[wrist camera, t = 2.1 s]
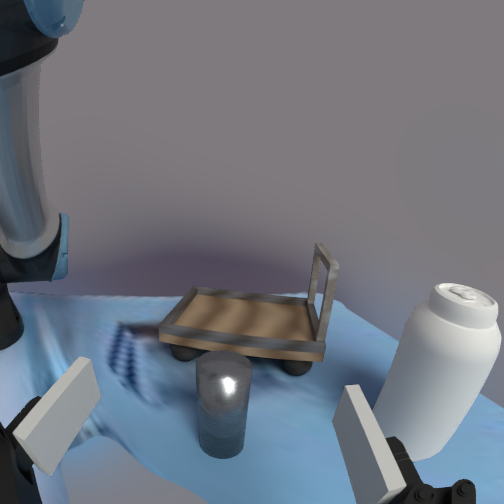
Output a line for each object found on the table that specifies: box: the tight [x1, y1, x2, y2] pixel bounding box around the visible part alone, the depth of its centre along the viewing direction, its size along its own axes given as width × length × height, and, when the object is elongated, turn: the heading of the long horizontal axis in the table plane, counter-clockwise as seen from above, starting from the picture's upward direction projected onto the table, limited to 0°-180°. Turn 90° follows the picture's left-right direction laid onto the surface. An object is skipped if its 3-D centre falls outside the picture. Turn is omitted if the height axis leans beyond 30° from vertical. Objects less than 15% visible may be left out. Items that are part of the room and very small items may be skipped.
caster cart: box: [159, 243, 339, 375], centre depth 45 cm, size 24×18×19 cm
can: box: [372, 283, 501, 462], centre depth 23 cm, size 12×12×20 cm
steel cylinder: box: [196, 350, 252, 459], centre depth 24 cm, size 5×5×12 cm
